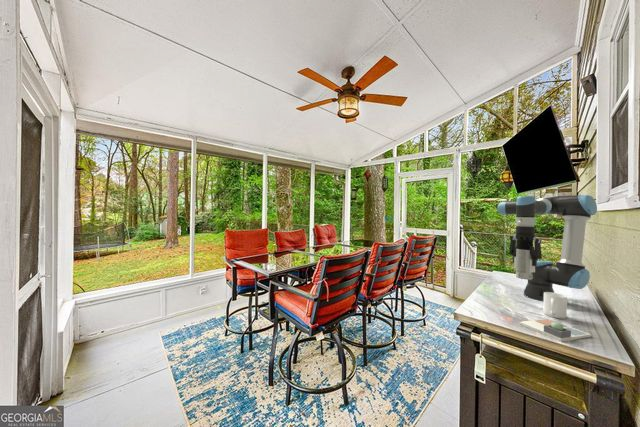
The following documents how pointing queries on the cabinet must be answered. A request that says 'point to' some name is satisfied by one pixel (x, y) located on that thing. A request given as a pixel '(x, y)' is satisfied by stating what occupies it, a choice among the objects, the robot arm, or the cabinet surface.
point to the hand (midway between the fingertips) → (524, 270)
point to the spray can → (523, 259)
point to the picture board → (545, 328)
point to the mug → (555, 305)
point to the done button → (557, 326)
